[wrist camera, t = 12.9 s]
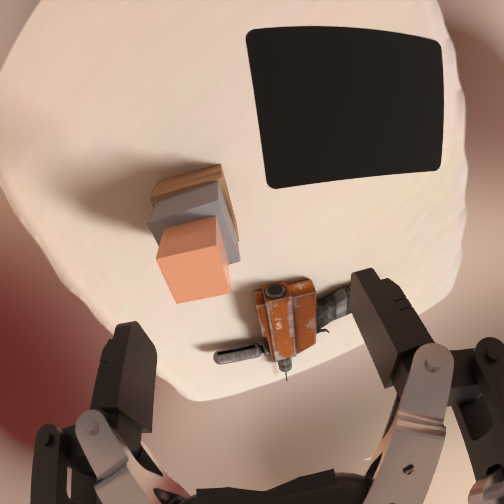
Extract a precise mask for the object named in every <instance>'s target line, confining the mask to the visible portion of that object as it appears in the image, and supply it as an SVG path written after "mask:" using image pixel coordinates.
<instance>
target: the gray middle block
mask: <svg viewBox="0 0 504 504" xmlns="http://www.w3.org/2000/svg"><path fill="white" fill-rule="evenodd" d="M213 216H216V218H217V222H218V225H219V229H220V233H221V236H222V240H223V243H224V247H225V250H226V254H227V257H228V264H232V263H236V262H239V261H240V254H239V247H238V240H237V234H236V232H235V229H234V226H233V223H232V220H231V217H230V215H229V212H228V209H227V206H226V203H225V200H224V197H223V194H222V192H221V189H220V186H219V183H218V181H216V182H213V183H210V184H207V185H204V186H201V187H198V188H195V189H192V190H189V191H186V192H183V193H180V194H177V195H174V196H171V197H168V198H166V199H163V200H160V201H157V202H156V204H155V207H154V209H153V211H152V214H151V216H150V219H149V221H148V226H149V228H150V230H151V232H152V234H153V236H154V238H155V240H156V242H157V244H158V245H160V242H161V238H162V235H163V231H164V228H167V227H171V226H176V225H180V224H184V223H188V222H192V221H196V220H200V219H205V218H209V217H213Z"/></svg>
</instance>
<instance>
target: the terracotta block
mask: <svg viewBox="0 0 504 504" xmlns="http://www.w3.org/2000/svg"><path fill="white" fill-rule="evenodd" d="M156 261H157V263H158V265H159V267H160V270H161V272H162V274H163V276H164V278H165V281H166V283H167V285H168V287H169V289H170V291H171V294H172V296H173V298H174V300H175V302H176V304H178V303H183V302H189V301H194V300H199V299H204V298H209V297H214V296H219V295H224V294H229V293H231V288H230V276H229V264H228V257H227V254H226V250H225V247H224V243H223V240H222V236H221V233H220V229H219V225H218V222H217V218H216V216H213V217H209V218H205V219H200V220H196V221H192V222H188V223H184V224H180V225H176V226H171V227H167V228H164V231H163V235H162V238H161V242H160V245H159V249H158V253H157V257H156Z"/></svg>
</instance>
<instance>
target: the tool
mask: <svg viewBox="0 0 504 504" xmlns="http://www.w3.org/2000/svg"><path fill="white" fill-rule="evenodd" d="M350 292H351V286H348V287H345V288H342V289H339V290H338V291H336V292H335V293H333V294H331V295H330V296H328V297H327V298H325V299H323V300H322V301H316V291H315V288H314V285H313V283H312V281H311V280H310V279H307V280H303V281H298V282H294V283H290V284H287V283H286V282H280V283H274V284H269V285H264V286H261V290H260V291H255V292H253V296H254V301H255V305H256V310H257V315H258V320H259V325H260V329H261V333H262V336H263V337H267V341H262V345H260V344H258V343H252V344H248V345H243V346H238V347H233V348H228V349H223V350H218V351H216V352H215V353H214V356H213V358H214V361H215V362H216V363H217V364H220V365H221V364H227V363H232V362H237V361H242V360H247V359H252V358H257V357H259V356H261V354H262V353H264V354H265V356H267V355H271V359H272V360H275V361H278V365H279V369H280V370H281V371H283V372H285V373H286V372H287V371H289V370H290V369H291V368H292V363H291V357H294V356H296V355H297V354H298V353H300V352H302V351H304V350H305V349H307V348H309V347H310V346H312V345H314V344H315V343H316V334H317V333H319V332H325V331H327V332H328V333H329V331H328V330H327V329H321V328H322V327H324V326H325V325H327V324H328V323H329V322H331V321H333V320H336V319H338V318H341V317H343V316H345V315H348V314H350V313H352V311H351V306H350ZM286 381H287V373H286Z"/></svg>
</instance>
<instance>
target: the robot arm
mask: <svg viewBox="0 0 504 504" xmlns="http://www.w3.org/2000/svg"><path fill="white" fill-rule="evenodd" d="M350 306H351V311H352V314H353V317H354V319H355V322H356V324H357V326H358V328H359V330H360V332H361V335H362V337H363V339H364V341H365V344H366V345H367V348H368V350H369V353H370V355H371V357H372V359H373V362H374V364H375V366H376V369H377V371H378V374H379V376H380V378H381V381H382V383H383V386H384V388H385V389H386V388H388V387H391V386H394V387H395V389H396V392H397V394H396V398H395V400H394V403H393V406H392V410H391V412H390V415H389V418H388V421H387V424H386V426H385V429H384V432H383V434H382V437H381V439H380V442H379V444H378V446H377V448H376V450H375V452H374V454H373V456H372V458H371V461H370V463H369V465H368V467H367V470H366V472H365V474H364V476H361V475H358V474H353V473H335V472H334V469H331V470H327V471H323V472H319V473H315V474H311V475H306V476H302V477H298V478H296V479H294V480H291V481H289V482H287V483H285V484H282V485H280V486H277V487H275V488H272V489H270V490H267V491H254V490H245V489H237V488H230V487H226V488H209V489H196V491H197V494H196V495H193V496H190V495H189V494H188V493H187V492H186V491H185V489H184V488H182V487H181V486H180V485H179V484H178V483H177V482H175V481H174V480H172V478H170V477H169V475H168V474H167V473H166V472H165V471H164V469H163V468H162V467H161V465H160V464H159V463H158V462H157V460H156V459H155V458H154V456H153V455H152V454H151V452H150V451H149V450H148V448H147V447H146V445H145V444H144V443H143V441H142V440H141V433H152V418H153V417H152V416H153V402H154V389H155V377H156V366H157V352H156V349H155V346H154V344H153V343H152V341H151V340H150V339H149V337H148V336H147V334H146V333H145V332H144V330H143V329H142V327H141V326H140V325H139V323H138V322H136V321H133V322H127V323H122V324H118V325H117V326H116V328H115V332H114V336H113V339H109V341H108V342H107V344H106V345H105V347H104V349H103V351H102V355H101V359H100V364H99V368H98V374H97V377H96V382H95V387H94V392H93V397H92V402H91V407H90V410H88V411H86V412H84V413H83V414H82V415H81V416H80V417H79V418H78V421H77V423H76V425H73V426H70V427H66V428H63V429H59V428H57V427H56V426H54V425H53V424H45V425H43V426H42V427H41V428H40V429H39V431H38V433H37V435H36V441H35V448H34V457H33V466H32V479H31V502H30V504H423V501H424V499H425V497H426V494H427V492H428V489H429V486H430V484H431V481H432V478H433V475H434V473H435V470H436V467H437V464H438V460H439V457H440V454H441V451H442V447H443V444H444V440H445V435H446V427H445V426H444V424H443V421H444V417H445V412H446V407H447V406H452V409H453V411H454V414H455V417H456V419H457V422H458V425H459V428H460V430H461V433H462V436H463V439H464V442H465V445H466V448H467V451H468V454H469V458H470V461H471V464H472V468H473V472H474V475H475V479H476V483H475V484H474V485H473V487H472V488H471V490H470V493H469V496H468V504H504V344H503V343H502V342H501V341H500V340H498V339H496V338H493V337H487V338H483V339H482V340H481V341H479V343H478V344H477V345H476V347H475V348H473V349H464V350H453V351H452V350H448V349H447V348H446V347H445V346H443V345H441V344H437V343H435V342H434V341H433V339H432V338H431V336H430V334H429V333H428V331H427V329H426V328H425V326H424V324H423V323H422V321H421V319H420V318H419V316H418V315H417V313H416V311H415V310H414V308H412V305H411V303H410V302H409V300H408V299H406V296H405V294H404V293H403V291H402V290H401V288H400V287H399V285H397V284H396V283H394V282H393V281H391V280H390V279H389V278H386V279H382V280H380V278H379V277H378V275H377V274H376V272H375V271H374V269H373V268H368V269H365V270H361V271H357V272H354V273H352V274H351V292H350ZM67 467H69V468H71V469H72V479H71V480H72V481H71V499H70V498H69V497H68V495H67V491H66V488H67Z"/></svg>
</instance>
